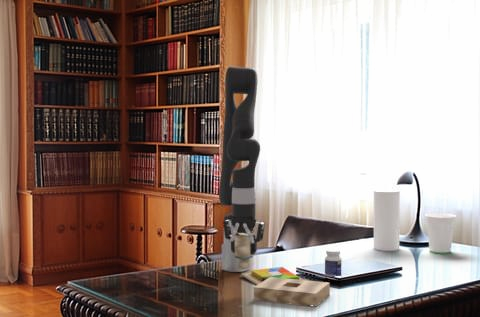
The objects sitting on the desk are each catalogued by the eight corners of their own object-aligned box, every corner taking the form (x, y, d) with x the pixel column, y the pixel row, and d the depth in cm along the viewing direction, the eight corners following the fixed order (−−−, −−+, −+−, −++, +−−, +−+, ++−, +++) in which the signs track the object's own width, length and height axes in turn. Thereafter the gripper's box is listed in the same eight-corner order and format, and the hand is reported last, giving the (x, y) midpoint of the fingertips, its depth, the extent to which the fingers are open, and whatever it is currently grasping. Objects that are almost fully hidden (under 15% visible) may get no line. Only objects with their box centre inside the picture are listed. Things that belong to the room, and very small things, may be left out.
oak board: (253, 299, 199) (253, 287, 199) (270, 289, 212) (270, 276, 212) (315, 307, 191) (315, 293, 191) (329, 295, 204) (329, 282, 204)
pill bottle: (341, 281, 222) (341, 252, 221) (324, 280, 223) (324, 251, 222) (341, 277, 227) (341, 249, 227) (325, 276, 228) (325, 248, 228)
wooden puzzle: (264, 291, 212) (264, 280, 212) (239, 278, 229) (239, 268, 228) (310, 284, 219) (310, 274, 219) (282, 273, 236) (282, 263, 236)
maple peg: (231, 268, 207) (231, 236, 206) (239, 264, 212) (239, 232, 211) (248, 270, 204) (248, 237, 203) (255, 266, 209) (255, 234, 209)
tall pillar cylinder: (401, 250, 272) (402, 191, 270) (376, 251, 272) (376, 191, 270) (396, 245, 282) (396, 188, 281) (371, 246, 282) (371, 189, 281)
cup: (459, 250, 271) (459, 214, 270) (451, 256, 260) (451, 218, 259) (429, 247, 277) (429, 212, 276) (420, 252, 267) (420, 216, 266)
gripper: (218, 201, 206) (218, 253, 207) (259, 204, 200) (259, 258, 201) (228, 198, 213) (228, 249, 214) (268, 201, 207) (269, 253, 208)
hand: (243, 253), depth 208 cm, fingers closed on maple peg, 5 cm apart
